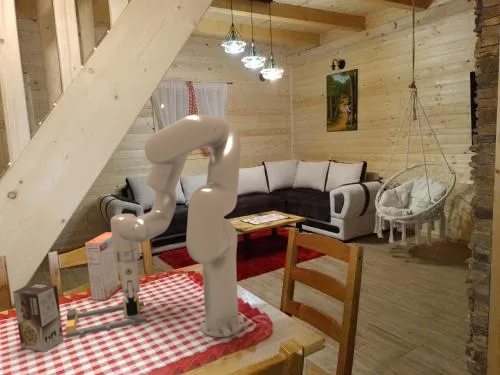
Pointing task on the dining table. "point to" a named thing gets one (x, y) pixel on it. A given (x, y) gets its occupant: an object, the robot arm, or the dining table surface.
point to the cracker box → (102, 267)
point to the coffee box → (38, 316)
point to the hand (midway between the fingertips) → (131, 309)
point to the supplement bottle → (125, 306)
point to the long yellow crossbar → (71, 320)
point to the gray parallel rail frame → (106, 326)
